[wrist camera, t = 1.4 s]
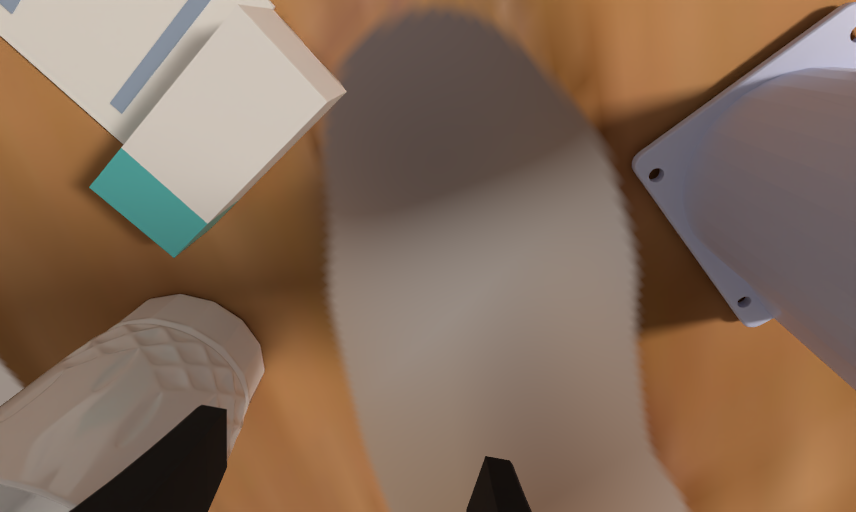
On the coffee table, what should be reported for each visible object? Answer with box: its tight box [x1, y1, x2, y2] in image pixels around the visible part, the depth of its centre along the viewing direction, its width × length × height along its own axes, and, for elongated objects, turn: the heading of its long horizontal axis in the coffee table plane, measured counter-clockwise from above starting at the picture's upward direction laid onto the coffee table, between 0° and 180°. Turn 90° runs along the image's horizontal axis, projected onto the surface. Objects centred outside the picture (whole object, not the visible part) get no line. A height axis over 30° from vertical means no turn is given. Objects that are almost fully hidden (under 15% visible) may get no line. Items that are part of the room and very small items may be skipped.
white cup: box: [0, 294, 265, 512], centre depth 18 cm, size 8×8×10 cm
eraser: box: [89, 4, 346, 258], centre depth 16 cm, size 8×3×3 cm, turn 132°
